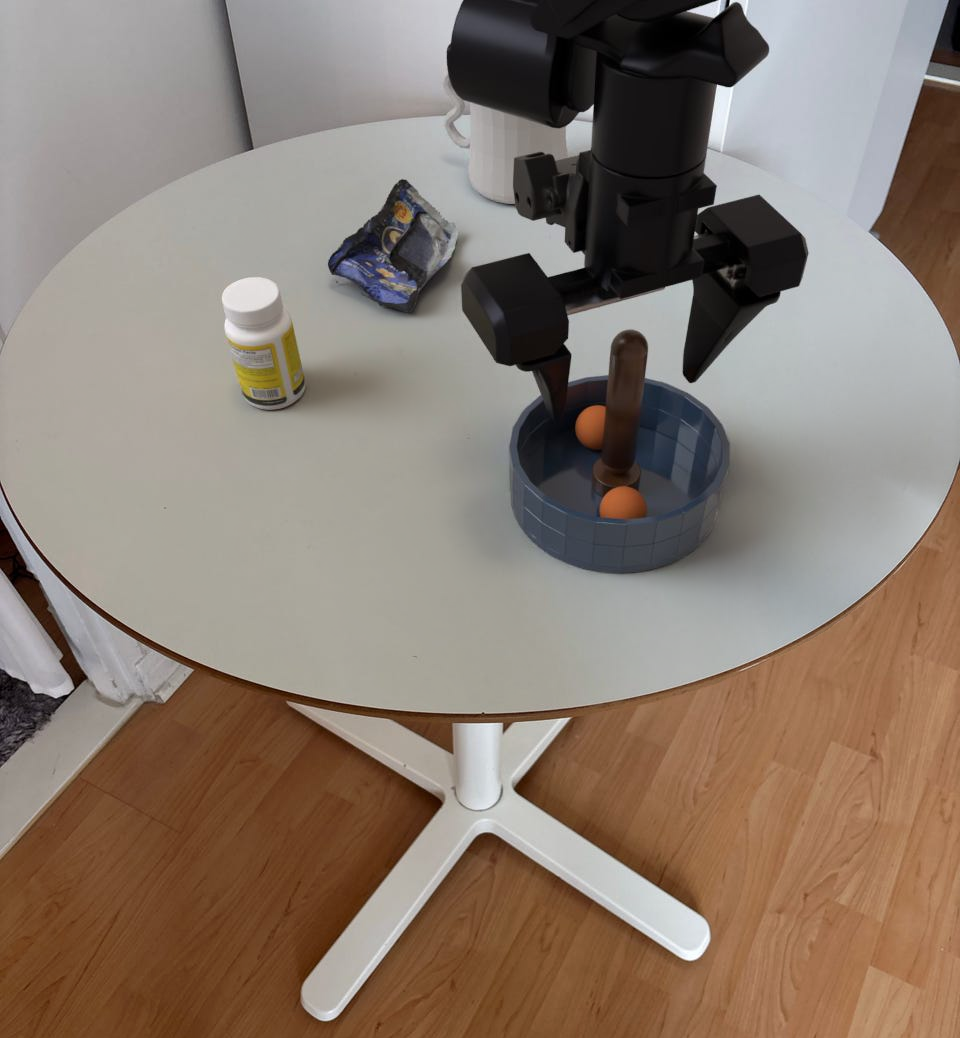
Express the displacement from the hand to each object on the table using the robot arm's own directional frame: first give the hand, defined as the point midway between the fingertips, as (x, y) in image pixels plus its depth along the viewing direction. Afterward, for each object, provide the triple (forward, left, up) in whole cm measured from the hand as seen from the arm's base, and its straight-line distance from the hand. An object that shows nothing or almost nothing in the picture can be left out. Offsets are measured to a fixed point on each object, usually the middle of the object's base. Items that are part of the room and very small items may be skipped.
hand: (622, 398), depth 63 cm
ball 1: (+1, -4, -6) cm, 7 cm away
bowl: (0, +1, -8) cm, 8 cm away
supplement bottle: (+26, -7, -8) cm, 28 cm away
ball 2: (-1, +4, -6) cm, 7 cm away
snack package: (+19, -23, -8) cm, 31 cm away
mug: (+13, -39, -8) cm, 42 cm away
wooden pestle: (0, 0, -7) cm, 7 cm away
